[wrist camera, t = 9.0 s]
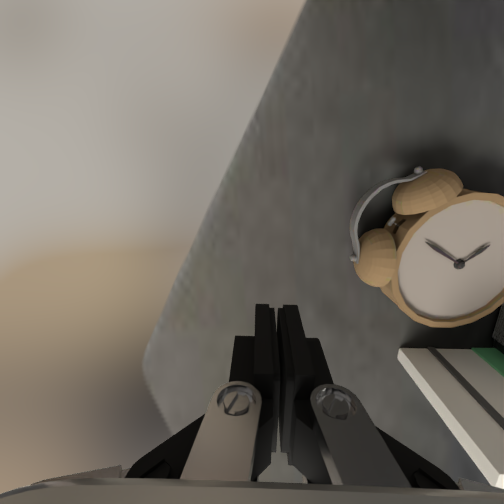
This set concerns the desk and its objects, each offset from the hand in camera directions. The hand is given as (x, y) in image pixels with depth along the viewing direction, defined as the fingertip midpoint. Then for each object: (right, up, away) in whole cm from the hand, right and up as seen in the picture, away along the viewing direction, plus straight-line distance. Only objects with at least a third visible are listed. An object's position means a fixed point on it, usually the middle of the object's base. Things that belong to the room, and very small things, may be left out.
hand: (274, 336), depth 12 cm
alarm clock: (+14, +4, +14) cm, 20 cm away
